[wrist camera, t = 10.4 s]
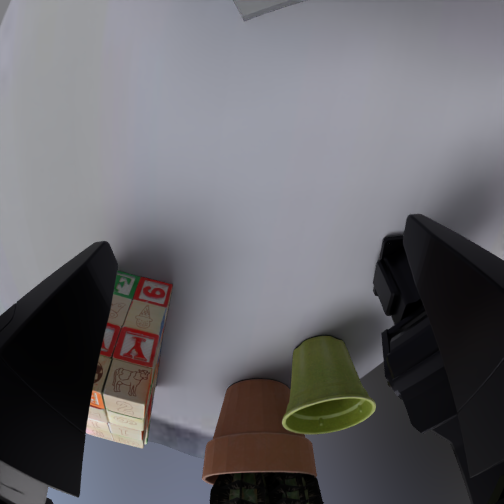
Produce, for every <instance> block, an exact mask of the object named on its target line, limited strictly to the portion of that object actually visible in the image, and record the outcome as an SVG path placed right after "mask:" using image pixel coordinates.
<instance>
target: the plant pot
mask: <svg viewBox="0 0 504 504" xmlns="http://www.w3.org/2000/svg"><path fill="white" fill-rule="evenodd" d="M375 408H376V405H375V402H374V400H372V398H370V397H369V396H368V394H367V392H366V390H365V389H364V388H363V386H362V384H361V382H360V379H359V377H358V375H357V372H356V370H355V367H354V365H353V362H352V360H351V358H350V355H349V353H348V350H347V348H346V346H345V343H344V342H343V341H342V340H338V339H335V338H333V337H332V336H318V337H314V338H310V339H308V340H306V341H304V342H303V343H302V344H301V345H300V346H299V347H298V348H296V349H295V350H294V352H293V361H292V377H291V389H290V400H289V404H288V405H287V410H286V414H285V415H284V416H283V419H282V425H283V427H284V428H285V429H287V430H289V431H291V432H295V433H300V434H323V433H330V432H334V431H339V430H343V429H346V428H349V427H352V426H354V425H356V424H358V423H360V422H362V421H364V420H365V419H367V418H368V417H369V416H370V415H372V413H373V412H374V411H375Z"/></svg>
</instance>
